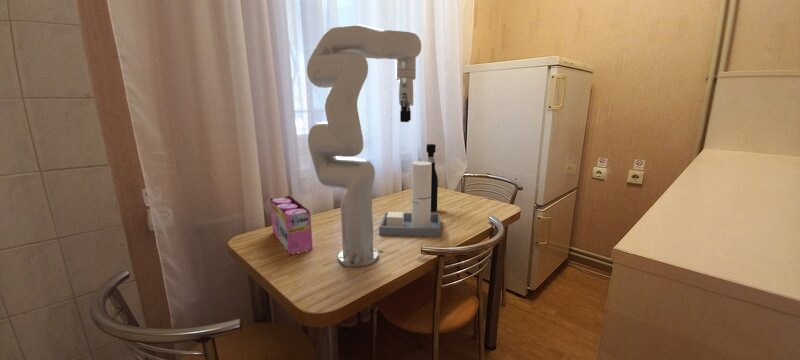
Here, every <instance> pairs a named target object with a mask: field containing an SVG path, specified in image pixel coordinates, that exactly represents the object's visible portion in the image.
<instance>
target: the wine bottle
mask: <svg viewBox="0 0 800 360" xmlns="http://www.w3.org/2000/svg"><path fill="white" fill-rule="evenodd" d="M436 146H437V145H436V144H433V143H427V144H426V148H425V149H426V153H427V158H426V162H431V163H432V174H431V213H432V212H438V192H439V191H438V187H439V185H438V182H439V181H438V174H437V170H436V162H435V160H436V159H435V153H436V150H437V149H436Z"/></svg>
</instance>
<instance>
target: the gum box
mask: <svg viewBox="0 0 800 360" xmlns="http://www.w3.org/2000/svg"><path fill="white" fill-rule="evenodd" d="M269 203H270V205H269V206H270V215H271V226H272V227H271V228H272V233H273V232H274V233H275V234H276V236H277V237H278V239H279V240H280V242H281V243H282V244H283V246H284V247H285V248H286V250H287V251H288V252H287V251H286V250H285V251H286V252H287V254H288V253H289V254H293V253H297V252H301V253H303V252H302V251H305V250H308V251H311V250H310V249H312V250H313V249H314V248H313V236H312V235H313V234H312V233H313V231H312V219H311V211H310V210H309V209H308V208H307V207H305V206H303V205H302V204H301V203H300V202H299V201H298V200H296V199H295V198H293V197H292V196H291V195H286V196H285V197H279V198H272V197H270V198H269ZM274 233H273V234H274ZM276 236H275V237H276ZM278 239H277V240H278ZM279 240H278V241H279ZM280 242H279V243H280ZM281 243H280V244H281ZM282 244H281V245H282ZM283 246H282V247H283ZM284 247H283V248H284ZM285 248H284V249H285ZM305 252H306V251H305ZM289 254H288V255H289ZM297 254H298V253H297ZM293 255H294V254H293Z"/></svg>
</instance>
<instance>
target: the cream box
mask: <svg viewBox="0 0 800 360" xmlns="http://www.w3.org/2000/svg"><path fill="white" fill-rule="evenodd" d="M387 212H388V214H387V217H386V221H387V226H389V227H403V226H404V213H405V211H387Z"/></svg>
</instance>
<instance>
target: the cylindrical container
mask: <svg viewBox="0 0 800 360" xmlns="http://www.w3.org/2000/svg"><path fill="white" fill-rule="evenodd" d="M431 174H432V163H431V162H427V161H413V162H411V213H412V227H420V228H430V225H431V214H432V212H431Z"/></svg>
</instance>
